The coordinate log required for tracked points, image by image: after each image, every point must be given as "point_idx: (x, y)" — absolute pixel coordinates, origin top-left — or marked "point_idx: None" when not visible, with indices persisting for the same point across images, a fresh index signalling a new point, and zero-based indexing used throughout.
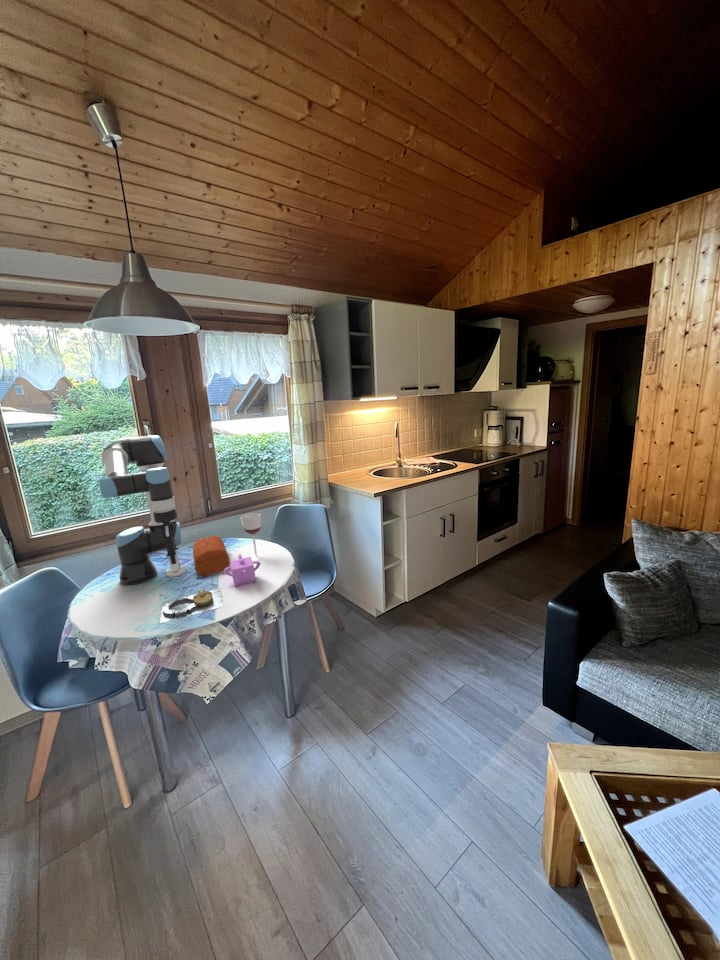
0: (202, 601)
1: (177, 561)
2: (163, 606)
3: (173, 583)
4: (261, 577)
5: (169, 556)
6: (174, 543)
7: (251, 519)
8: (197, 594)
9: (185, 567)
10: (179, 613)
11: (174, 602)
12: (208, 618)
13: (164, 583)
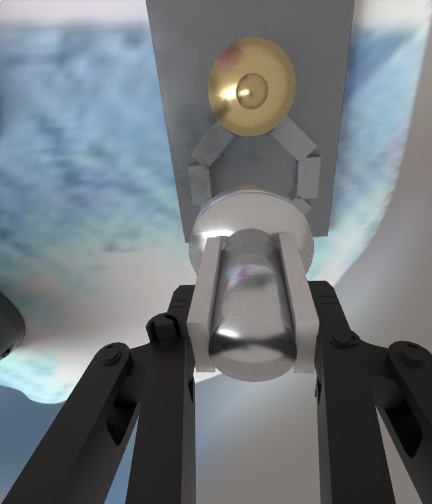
0: (294, 89)
1: (303, 275)
2: None
3: (29, 220)
4: None
5: (313, 362)
6: (184, 408)
7: None
8: (225, 117)
9: (245, 197)
10: (318, 181)
11: None
12: (378, 61)
13: (25, 247)
